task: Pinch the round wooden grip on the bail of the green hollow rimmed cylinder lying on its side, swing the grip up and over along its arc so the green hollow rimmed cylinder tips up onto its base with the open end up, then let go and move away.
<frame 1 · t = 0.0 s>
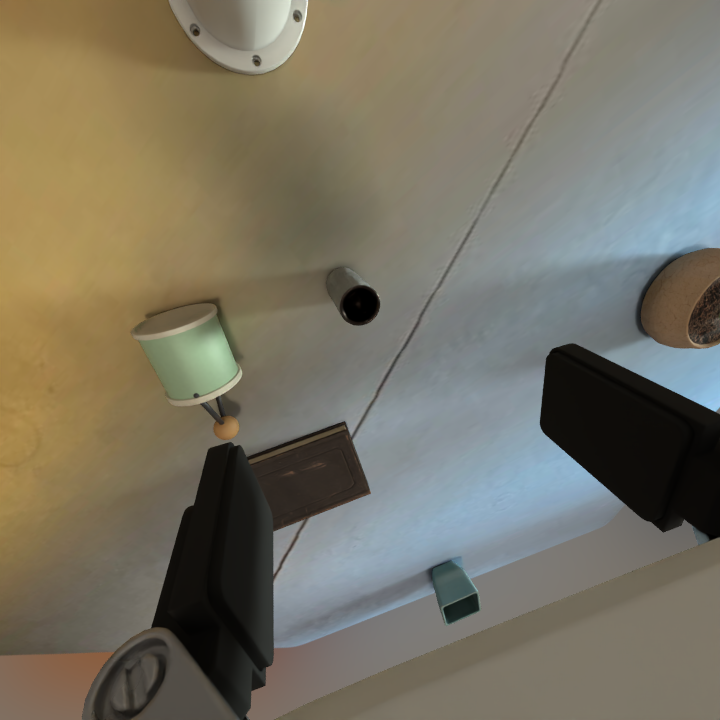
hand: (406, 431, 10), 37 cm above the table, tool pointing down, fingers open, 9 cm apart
green hollow rimmed cylinder: (205, 383, 42), point 5 cm above the table, hinge at 0.0°
potted plant: (686, 291, 60), on the table
hardcover book: (294, 478, 58), on the table
grey hollow tube: (342, 283, 45), on the table
flower pot: (442, 568, 81), on the table
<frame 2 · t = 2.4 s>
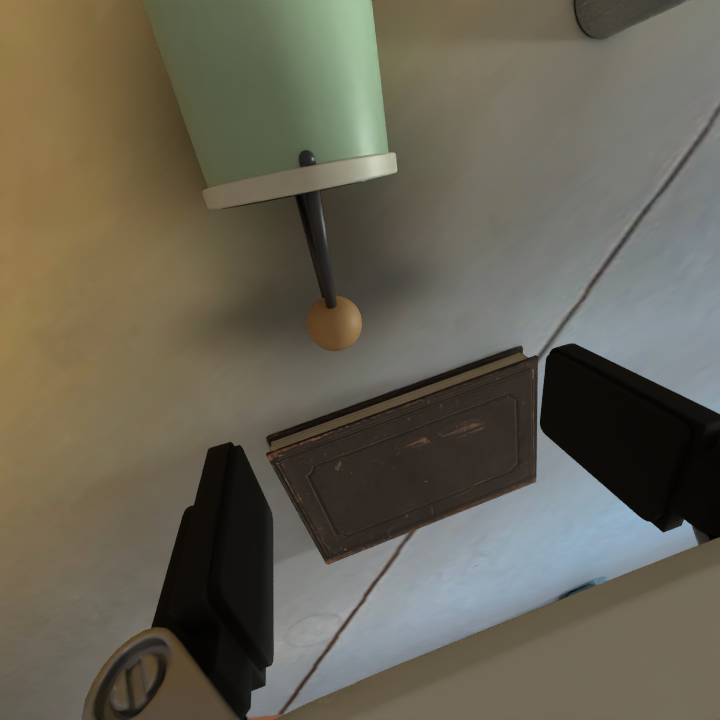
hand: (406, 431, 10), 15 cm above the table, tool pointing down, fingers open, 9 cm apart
green hollow rimmed cylinder: (303, 186, 16), point 5 cm above the table, hinge at 0.0°
hardcover book: (412, 454, 32), on the table
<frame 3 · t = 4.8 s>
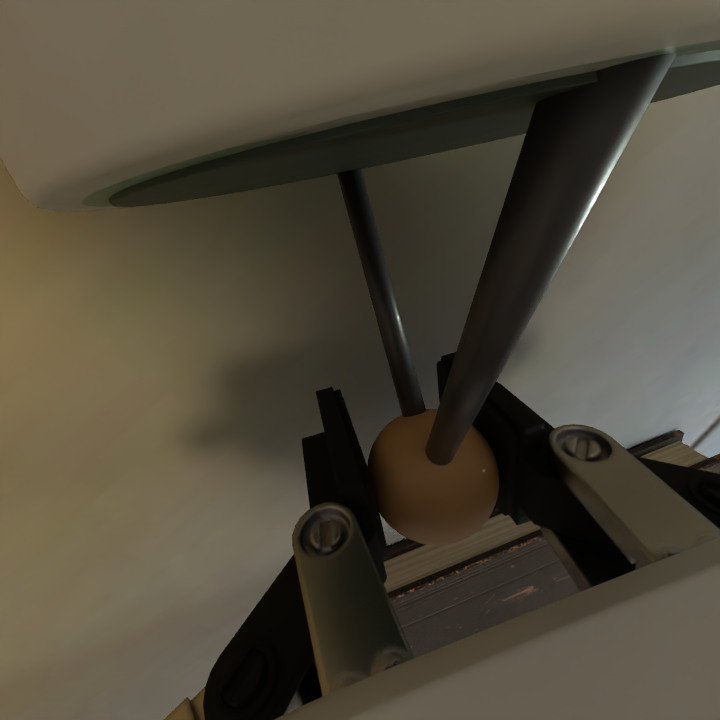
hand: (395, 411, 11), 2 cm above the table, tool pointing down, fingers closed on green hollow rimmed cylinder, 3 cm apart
green hollow rimmed cylinder: (393, 136, 5), point 5 cm above the table, hinge at 0.0°, touching gripper
hardcover book: (493, 584, 21), on the table
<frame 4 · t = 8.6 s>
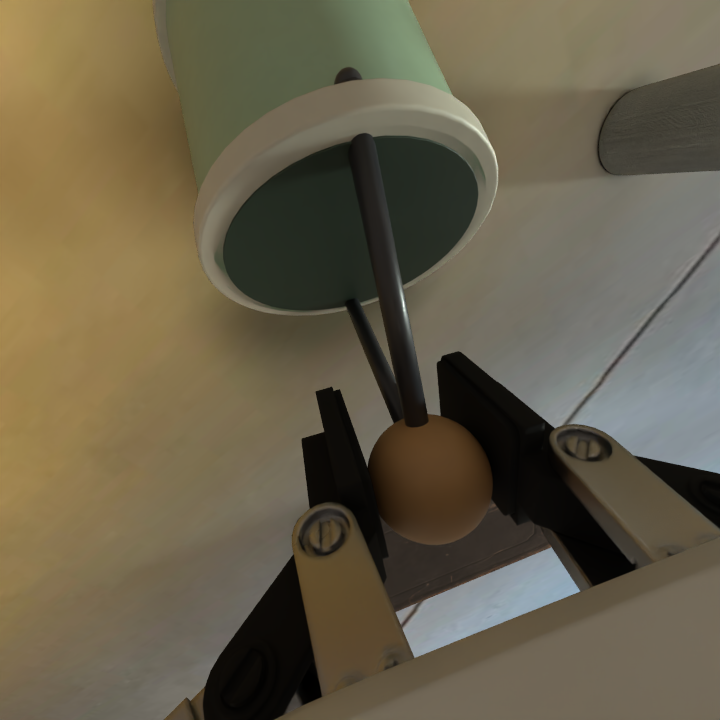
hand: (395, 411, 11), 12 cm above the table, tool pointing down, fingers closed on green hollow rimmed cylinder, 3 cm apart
green hollow rimmed cylinder: (353, 245, 11), point 9 cm above the table, hinge at 42.9°, touching gripper
hardcover book: (433, 524, 34), on the table
grey hollow tube: (626, 134, 21), on the table
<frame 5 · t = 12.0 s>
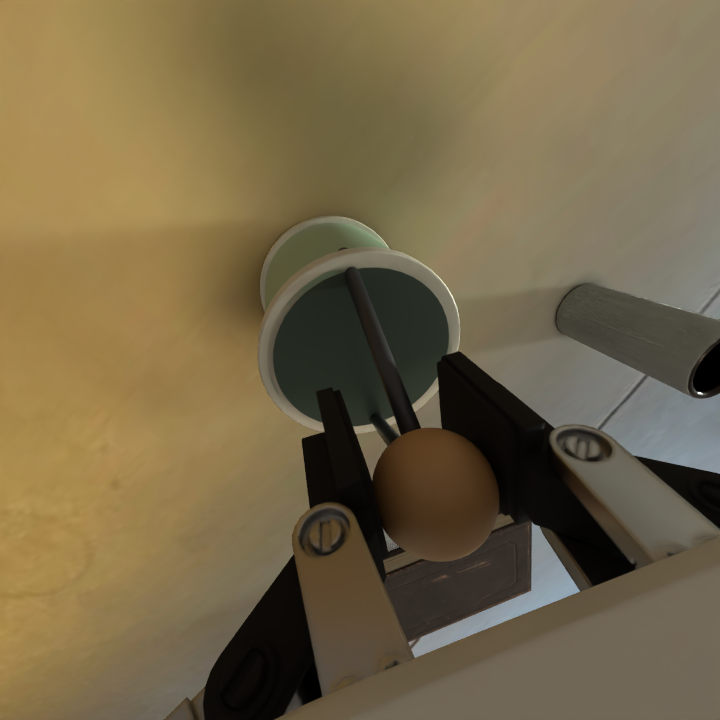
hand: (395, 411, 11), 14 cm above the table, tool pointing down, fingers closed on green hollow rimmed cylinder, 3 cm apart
green hollow rimmed cylinder: (364, 354, 15), point 9 cm above the table, hinge at 85.5°, touching gripper
hardcover book: (433, 574, 41), on the table
grey hollow tube: (577, 309, 28), on the table
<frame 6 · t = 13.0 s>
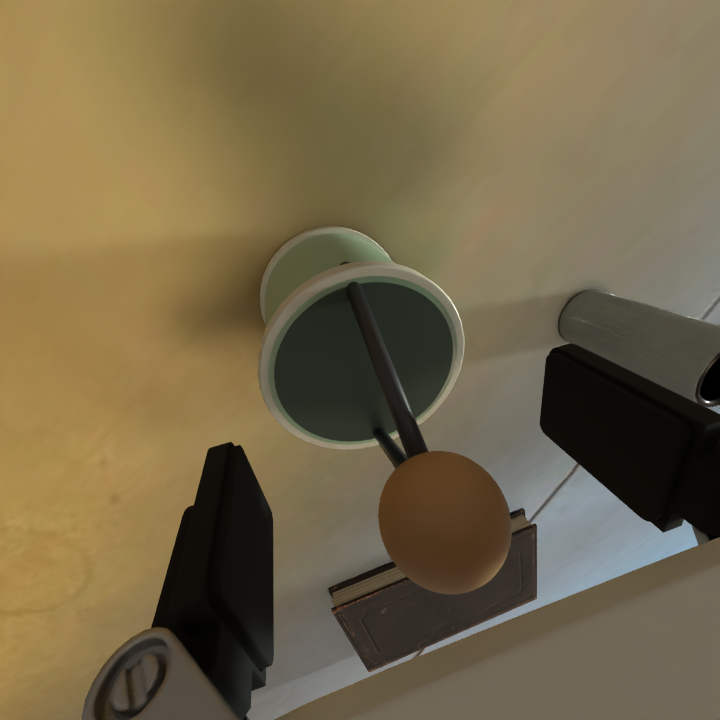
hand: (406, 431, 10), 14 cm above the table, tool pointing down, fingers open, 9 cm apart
green hollow rimmed cylinder: (367, 369, 14), point 9 cm above the table, hinge at 85.5°
hardcover book: (437, 583, 40), on the table
grey hollow tube: (580, 315, 28), on the table
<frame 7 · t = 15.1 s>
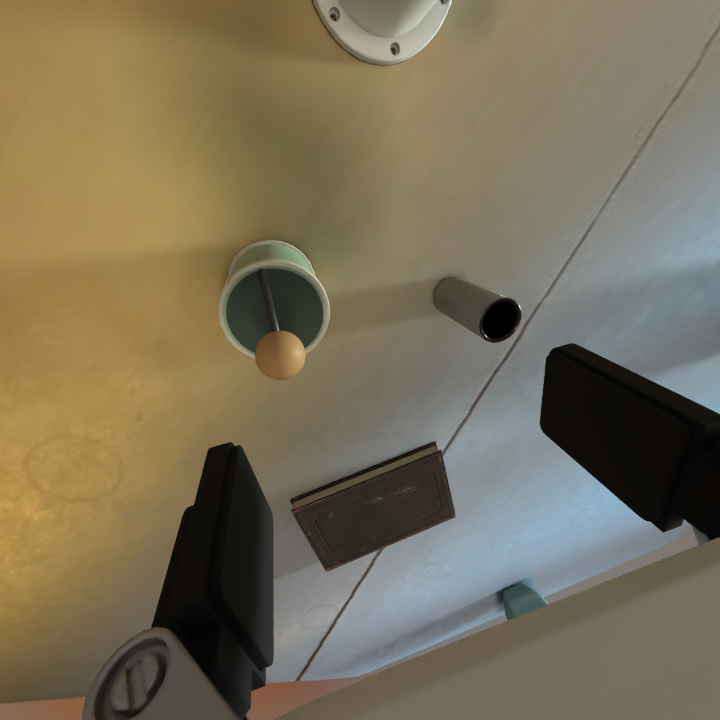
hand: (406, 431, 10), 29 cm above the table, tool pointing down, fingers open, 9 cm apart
green hollow rimmed cylinder: (276, 314, 28), point 9 cm above the table, hinge at 85.5°
hardcover book: (377, 503, 54), on the table
grey hollow tube: (449, 294, 41), on the table
flower pot: (512, 590, 76), on the table
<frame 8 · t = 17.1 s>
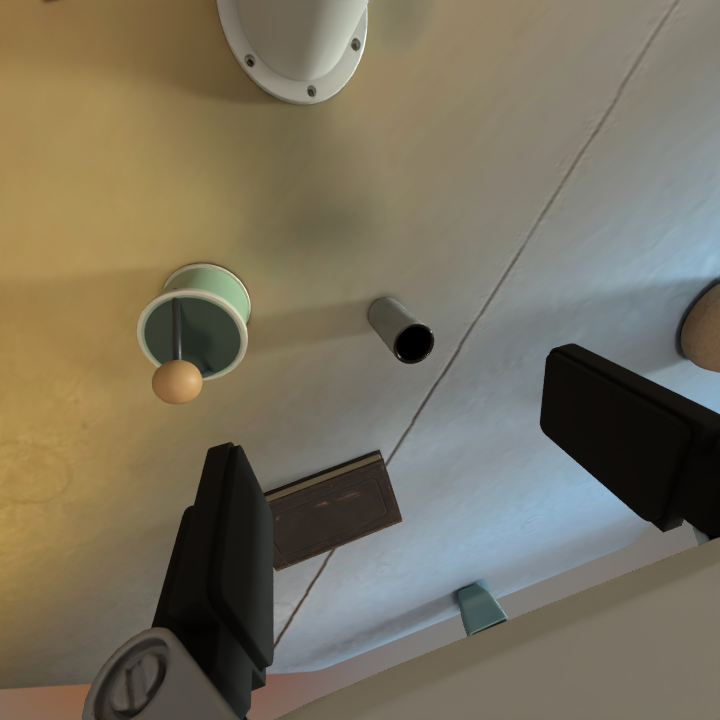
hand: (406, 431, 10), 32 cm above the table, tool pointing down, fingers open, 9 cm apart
green hollow rimmed cylinder: (194, 338, 30), point 9 cm above the table, hinge at 85.5°
hardcover book: (325, 506, 56), on the table
grey hollow tube: (384, 313, 44), on the table
flower pot: (468, 590, 79), on the table
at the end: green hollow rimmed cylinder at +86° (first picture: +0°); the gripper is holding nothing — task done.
